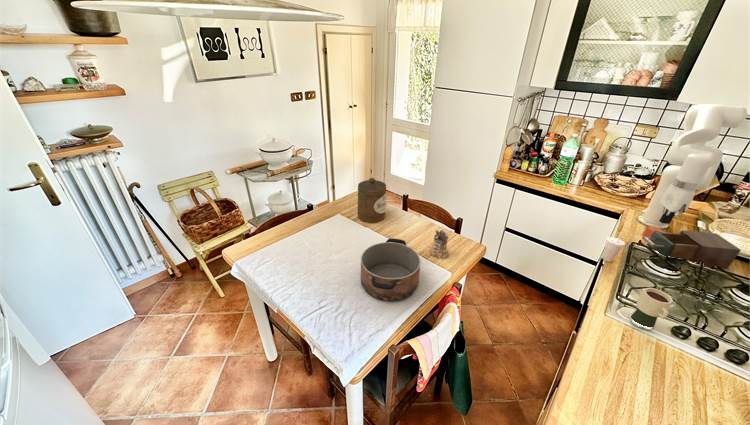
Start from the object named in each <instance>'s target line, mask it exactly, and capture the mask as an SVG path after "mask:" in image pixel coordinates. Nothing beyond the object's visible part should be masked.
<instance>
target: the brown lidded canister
mask: <svg viewBox="0 0 750 425" xmlns="http://www.w3.org/2000/svg"><path fill="white" fill-rule="evenodd" d="M386 208H387V184H386V183H385V182H384V181H381V180H376V179H375V178H374V177H370V178H369V179H368V180H363V181H360V182H359V183H358V184H357V218H358V219H359V220H360V221H361V222H364V223H367V224H375V223H379V222H382V221H384V219H386Z"/></svg>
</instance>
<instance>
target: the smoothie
mask: <svg viewBox="0 0 750 425" xmlns="http://www.w3.org/2000/svg"><path fill="white" fill-rule="evenodd" d="M622 235H623V232H622V231H621V232H620V233H619V234H618V237H614V236H608V237H607V238H606V239H605V242H606V243H605V246H604V250H603V254H602V257H601V259H602V260H603V261H605V262H608V263H612V262H613V261H614V260H615V258H616V257H617V256H618V254H619V253H620V252H621V249H622V248H624V247H625V245H626V243H625V241H624V240H622V239H620V238H621V237H622Z"/></svg>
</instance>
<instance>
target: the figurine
mask: <svg viewBox="0 0 750 425" xmlns="http://www.w3.org/2000/svg"><path fill="white" fill-rule="evenodd" d="M448 239H449V236H448V234H447V232H446V231H445V230H443V229H441V230H438V229H437V230H435V234H434V237H433V242H432V244H431V249H430V254H431V256H432V257H434V258H436V259H444V258H446V257H448V246H447V244H449V243H448Z"/></svg>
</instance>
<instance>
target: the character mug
mask: <svg viewBox="0 0 750 425" xmlns="http://www.w3.org/2000/svg"><path fill="white" fill-rule="evenodd" d="M672 304H673V298H672V297H671V295H669V294H668V293H666V292H665V291H663V290H660V289H657V288H654V287H646V288H644V287H643V288H642V289H641V290H640V292H639V297H638V299H637V301H636V308H637V309H636V310H634V312H632V313H631V315H630V316H631V318H632V319H633V320H634V321H635V322H637V323H639V324H641V325H643V326H647V327H653V328H655V325H656V322H657V321H658V318H660V319H662V320H666V318H667V317H668V315H669V314H670V312H669V309H670V308H671V305H672ZM636 327H638V326H636ZM638 328H639V327H638Z"/></svg>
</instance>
